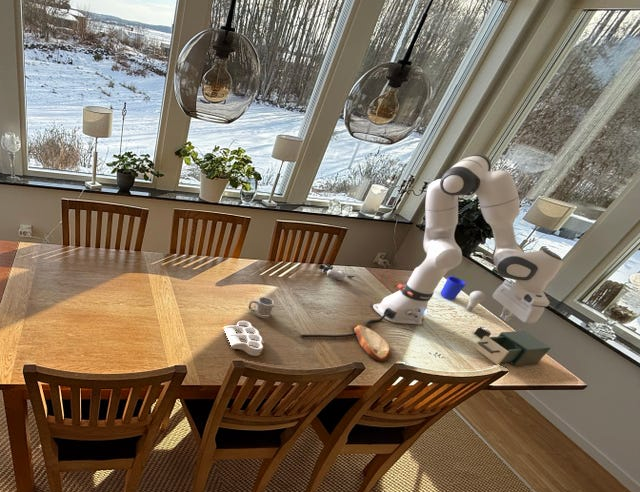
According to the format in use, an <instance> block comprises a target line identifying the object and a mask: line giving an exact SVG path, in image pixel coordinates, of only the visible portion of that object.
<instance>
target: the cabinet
mask: <svg viewBox="0 0 640 492" xmlns="http://www.w3.org/2000/svg"><path fill="white" fill-rule="evenodd" d="M498 336H505V337H506V338H507V339H509V340H510V341H512V342H513V343H515V344H516V345H518V346H519V347H521V348H522V349H524V351H523V352H522V354H521V355H520V356H519V357H518V358H517V360H516V361H511V362H509V363H510V364H511V365H512V366H525V365H535V364H538V363H540V361H541V360H542V358H544V356H545V355H546V354H547V353H548V352H549V351H550V350H551V347H550V346H549V345H548V344H546V343H544V341H543V342H542V340H540V339H538V338H537V337H535V336H533V335H532V334H530V333H529V332H527V331H525V330H514V331H513V330H511V331H501V332H500V333H499V335H498Z"/></svg>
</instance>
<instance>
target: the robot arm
mask: <svg viewBox="0 0 640 492" xmlns="http://www.w3.org/2000/svg"><path fill="white" fill-rule="evenodd" d="M491 169H492V161H491V159H490V158H489V157H487V156H486V155H484V154H480V153H475V154H471V155H468V156H466V157H464V158H463V159H461V160H459V161H457V162H456V163H455V164H453V165H452V166H451V167H450V168H448V169H447V170H446V171H445V172H444V173H443V175H442V176H441V178H438V179H435V180H434V181H432V182H430V183H429V185H428V186H427V190H426V195H425V201H424V203H425V205H424V206H425V214H424V215H425V229H424V235H423V242H422V244H423V246H422V247H423V250H424V252H425V254H426V257H425V259H424V260H423V261H422V262H421V264H419V265H418V266H416V267H415V268H414V270H413V271H412V273H411V275H410V277H409V278H408V280H407V281H406V282H405V283H404V284H401V283H399V284H398V285H397V288H398V289H399V290H397V291H395V292H393V293H392V294H389V295H387V296H385V297H384V298H383V299H382V300H381V302H378V303H375V304H374V303H373V305H372V308H373V309H374V311H375V312H376V313H377V314H378V315H379V316H381V317H380V318H378V319H370V320H367V322H366V323H365V324H364V325H363V326H364V327H367V328H368V325H369V324H371V323H377V322H378V323H379V322H381V321H383V320H384V319H385V320H387V321H389V322H391V323H392V324H393V323H395V324H407V325H418V326H419V325H422V323H423V321H422V319H423V317H424V315H426V314H427V309H428V303H429V301H431V299H432V298H433V296H434V292H435V290H436V288H437V287H438V286H439V283H440V282H441V280H442V279H443V278H444V276H445V275H446V274H448V273H449V271H451V270H454V269H455V268H457V267H458V266H459V265H460V264H461V263H462V261H463V252H462V249H461V247H460V246H459V245H458V243H457V242H456V239H455V232H456V229H457V225H458V224H459V196H472V195H473V194H475V195H476V197H477V199H478V204H479V208H480V209H479V210H480V212H481V215H482V218H483V220H484V221H485V222H486V224H488V225H489V226H490V228H491V230H492V235H493V236H492V237H493V240H494V250H493V251H492V256H491V260H492V263H493V264H494V266H495V268H496V271H497V273H498V274H499V275H500V276H501V277H503V278H506V280H505V279H504V281H503V282H502V283H501V284H500V285H499V286H497V288H496V289H495V290H494V292H493V293H492V298H493V300H495V301H497V302H498V303H499V304H500V305H501V306H503V307H502V311H501V314H500V316H499V317H500V319H502V320H503V321H504V322H509V321H510V320H511V319H513V318H515V317H516V318H517V319H518V320H520V321H521V322H523V323H524V324H531V325H532V324H535V323H537V321H539V319H540V318H541V316H542V315H543V313H544V312H545V307H548V306H549V305H550V303H551V302H550V300H549V299H548V297H547V296H546V294H545V292H544V290H545V289H546V287H547V285H548V283H549V282H551V281H552V280H553V279H554V278H555V277H556V275H557V274H558V273H559V270H561V268H562V265H563V262H564V261H563V258H562V257H561V256H560V255H559V254H558V253H555V252H553V251H552V250H548V249H540V250H536V251H528V252H525V250H524V248H522V247H521V245H519V243H518V242H517V239H516V235H515V229H514V221H515V219H517V218H518V216H519V215H520V210H521V209H520V205H521V204H520V196H519V193H518V188H517V186H516V183H515V181H514V178H513V177H512V175H511V173H510V172H509V171H507V170H502V169H501V170H493V171H491ZM513 280H515V281H513ZM352 336H356V332H355V331H354V332H352V333H347V334H301V335H300V337H301V338H347V337H352Z"/></svg>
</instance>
